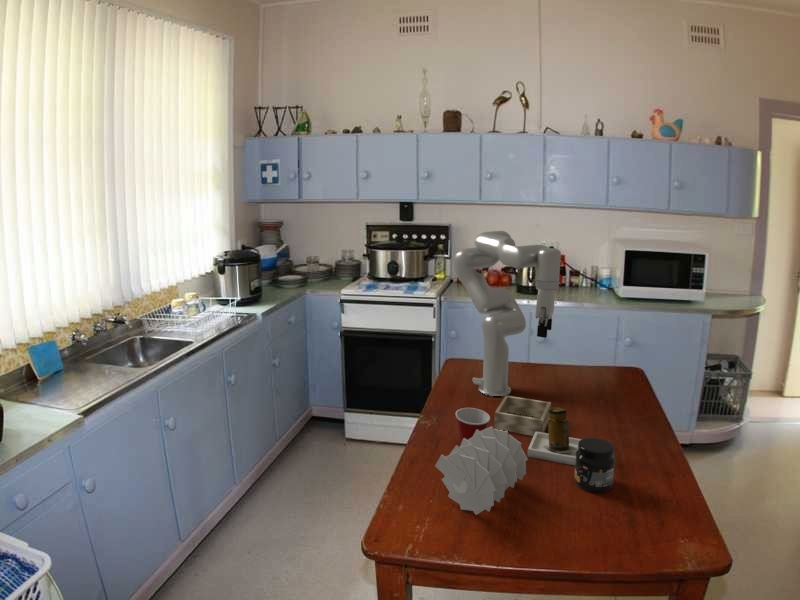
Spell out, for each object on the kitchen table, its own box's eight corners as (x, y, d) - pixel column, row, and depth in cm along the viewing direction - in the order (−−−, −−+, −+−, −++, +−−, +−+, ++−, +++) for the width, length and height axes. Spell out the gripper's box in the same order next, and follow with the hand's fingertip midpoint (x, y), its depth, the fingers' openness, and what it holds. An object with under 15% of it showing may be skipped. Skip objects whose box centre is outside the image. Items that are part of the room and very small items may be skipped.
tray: (527, 456, 180) (527, 449, 179) (535, 438, 192) (535, 431, 191) (588, 468, 173) (589, 460, 172) (592, 448, 185) (593, 441, 184)
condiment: (561, 442, 187) (559, 405, 186) (579, 450, 179) (577, 411, 178) (542, 446, 184) (540, 409, 183) (559, 454, 176) (557, 415, 175)
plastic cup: (480, 461, 177) (481, 424, 174) (448, 452, 182) (449, 416, 180) (494, 447, 186) (496, 412, 183) (463, 438, 191) (464, 404, 188)
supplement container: (573, 471, 171) (576, 434, 168) (611, 477, 168) (615, 439, 165) (573, 490, 161) (576, 451, 158) (613, 497, 158) (617, 456, 156)
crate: (494, 429, 198) (494, 412, 197) (504, 410, 212) (505, 395, 211) (542, 437, 192) (543, 420, 191) (549, 418, 206) (550, 402, 205)
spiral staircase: (515, 494, 167) (472, 535, 147) (467, 453, 174) (420, 486, 154) (546, 448, 159) (505, 484, 139) (494, 407, 167) (449, 436, 147)
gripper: (540, 279, 208) (537, 325, 212) (531, 288, 192) (528, 338, 196) (562, 281, 205) (559, 328, 209) (554, 290, 189) (551, 341, 193)
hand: (544, 333), depth 203 cm, fingers open, 9 cm apart
